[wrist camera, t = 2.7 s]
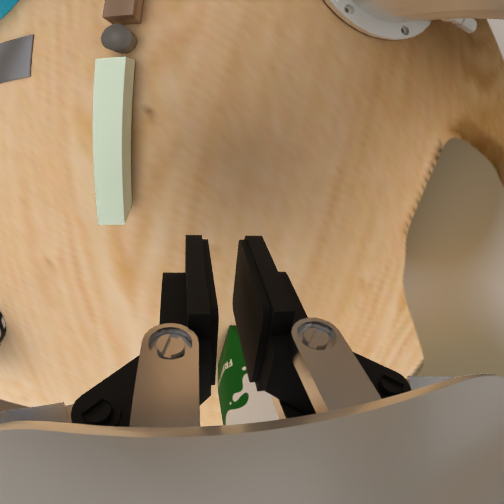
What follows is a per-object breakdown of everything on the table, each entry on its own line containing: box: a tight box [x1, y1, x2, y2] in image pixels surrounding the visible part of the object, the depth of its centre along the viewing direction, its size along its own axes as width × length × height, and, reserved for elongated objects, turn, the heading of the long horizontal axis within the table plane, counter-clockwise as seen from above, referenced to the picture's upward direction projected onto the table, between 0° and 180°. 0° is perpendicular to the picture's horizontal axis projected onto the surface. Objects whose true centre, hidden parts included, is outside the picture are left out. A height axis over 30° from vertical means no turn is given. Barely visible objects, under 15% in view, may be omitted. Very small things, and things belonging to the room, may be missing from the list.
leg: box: [93, 57, 135, 225], centre depth 19 cm, size 12×2×4 cm, turn 173°
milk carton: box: [218, 326, 279, 425], centre depth 27 cm, size 9×9×20 cm
